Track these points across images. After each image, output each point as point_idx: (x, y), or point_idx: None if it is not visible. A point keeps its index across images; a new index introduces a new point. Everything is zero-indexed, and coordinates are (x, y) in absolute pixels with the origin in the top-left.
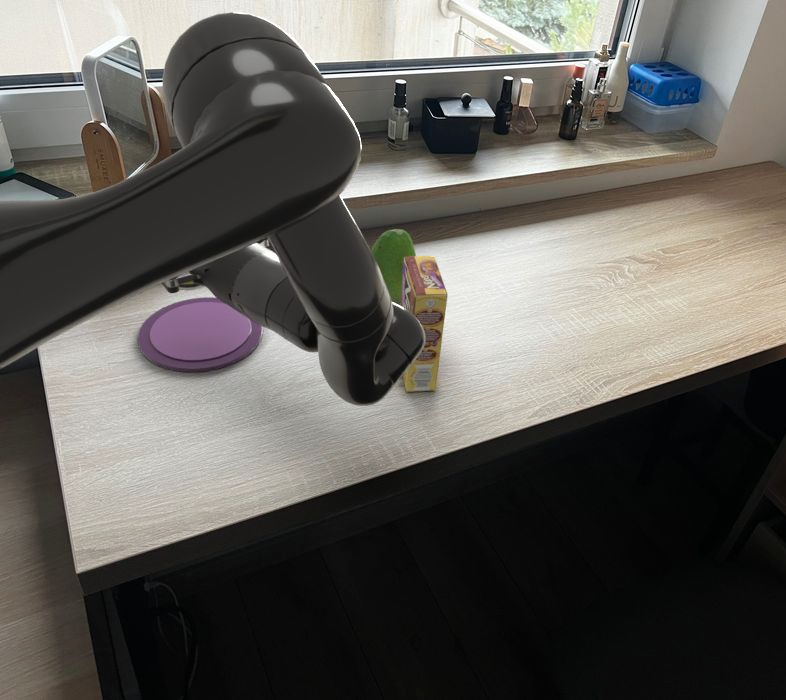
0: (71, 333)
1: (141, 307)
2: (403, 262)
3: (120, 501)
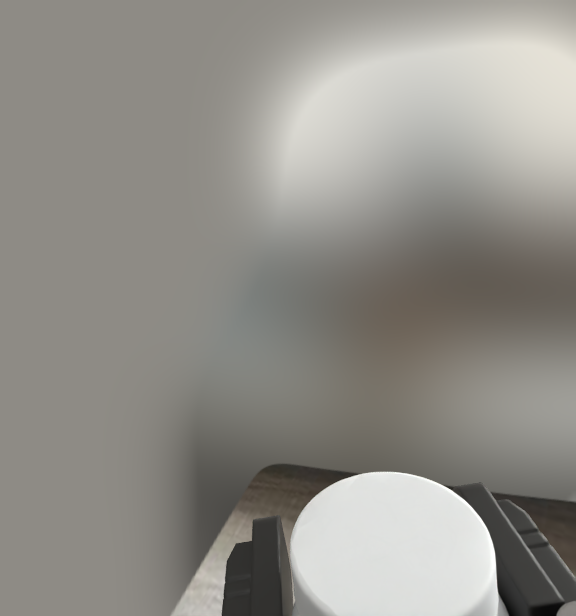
0: (220, 611)
1: None
2: None
3: None
